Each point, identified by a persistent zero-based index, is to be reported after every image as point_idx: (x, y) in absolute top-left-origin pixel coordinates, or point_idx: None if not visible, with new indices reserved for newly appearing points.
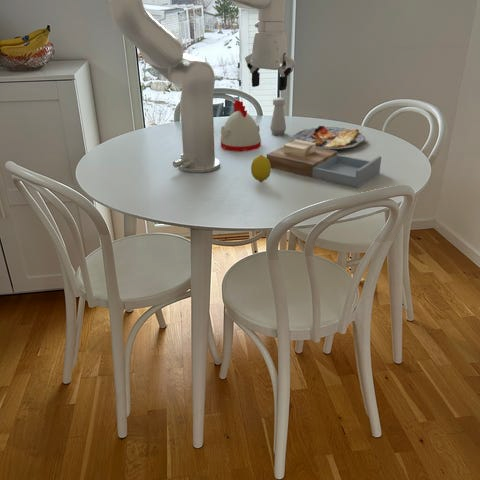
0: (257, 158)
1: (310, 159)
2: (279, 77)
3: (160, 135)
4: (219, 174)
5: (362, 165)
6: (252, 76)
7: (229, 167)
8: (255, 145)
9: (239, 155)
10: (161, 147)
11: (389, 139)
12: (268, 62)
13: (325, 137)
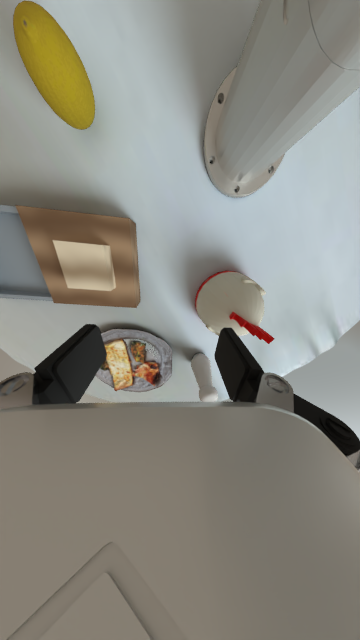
0: (31, 7)
1: (45, 235)
2: (56, 367)
3: (357, 278)
4: (183, 111)
5: (16, 292)
6: (251, 356)
7: (188, 178)
8: (197, 297)
9: (203, 255)
10: (347, 219)
11: (90, 391)
12: (15, 540)
13: (141, 366)
